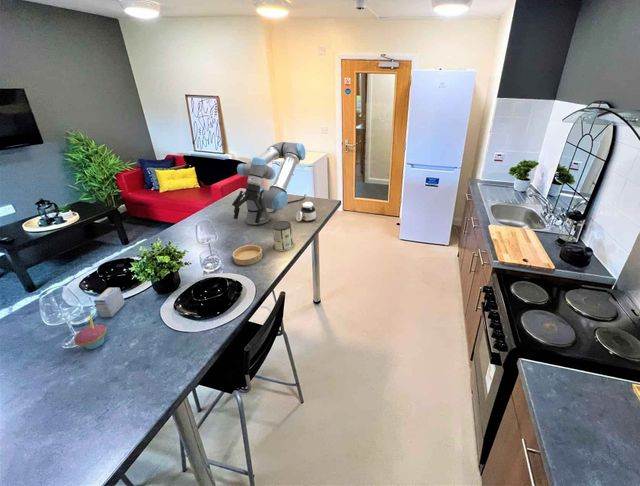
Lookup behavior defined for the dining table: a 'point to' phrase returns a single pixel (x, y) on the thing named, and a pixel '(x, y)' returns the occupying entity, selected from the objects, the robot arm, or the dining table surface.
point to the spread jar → (306, 212)
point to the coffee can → (282, 235)
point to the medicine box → (109, 302)
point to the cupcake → (91, 335)
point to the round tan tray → (247, 254)
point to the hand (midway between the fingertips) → (246, 221)
